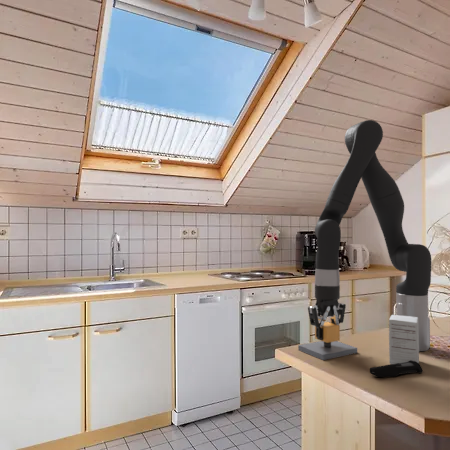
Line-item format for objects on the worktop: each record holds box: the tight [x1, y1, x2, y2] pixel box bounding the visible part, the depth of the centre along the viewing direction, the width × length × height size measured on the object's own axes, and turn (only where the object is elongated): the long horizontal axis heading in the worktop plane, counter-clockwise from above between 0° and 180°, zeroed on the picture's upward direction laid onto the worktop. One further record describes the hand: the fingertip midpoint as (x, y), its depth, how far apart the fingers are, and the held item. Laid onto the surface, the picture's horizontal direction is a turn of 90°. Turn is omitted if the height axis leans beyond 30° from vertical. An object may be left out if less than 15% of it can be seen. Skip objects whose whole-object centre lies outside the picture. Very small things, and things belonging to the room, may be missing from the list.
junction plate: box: [297, 340, 358, 361], centre depth 118 cm, size 14×11×4 cm
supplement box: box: [388, 314, 420, 365], centre depth 108 cm, size 7×7×13 cm
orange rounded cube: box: [314, 321, 341, 343], centre depth 118 cm, size 5×5×5 cm
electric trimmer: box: [369, 360, 424, 378], centre depth 99 cm, size 4×16×3 cm, turn 108°
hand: (327, 338), depth 118 cm, fingers closed on orange rounded cube, 5 cm apart
